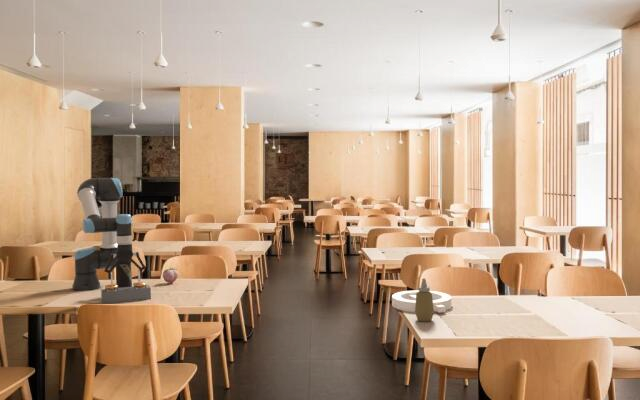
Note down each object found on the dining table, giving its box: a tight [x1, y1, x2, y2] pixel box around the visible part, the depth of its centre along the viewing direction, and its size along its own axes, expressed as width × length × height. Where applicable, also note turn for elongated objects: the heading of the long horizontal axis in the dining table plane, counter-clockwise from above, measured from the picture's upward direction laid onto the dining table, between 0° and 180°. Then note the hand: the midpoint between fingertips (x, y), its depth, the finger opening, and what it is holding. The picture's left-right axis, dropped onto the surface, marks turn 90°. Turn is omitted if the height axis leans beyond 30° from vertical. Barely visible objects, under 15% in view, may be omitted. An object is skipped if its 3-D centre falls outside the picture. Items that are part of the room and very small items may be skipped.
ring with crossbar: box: [391, 289, 452, 313], centre depth 259 cm, size 28×28×5 cm
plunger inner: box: [104, 284, 118, 291], centre depth 281 cm, size 6×6×7 cm
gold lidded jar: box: [132, 281, 147, 289], centre depth 286 cm, size 6×6×7 cm
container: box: [115, 259, 133, 288], centre depth 296 cm, size 9×9×20 cm
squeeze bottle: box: [414, 278, 435, 323], centre depth 232 cm, size 8×8×18 cm
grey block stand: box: [100, 284, 152, 304], centre depth 284 cm, size 24×8×6 cm, turn 114°
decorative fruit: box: [162, 267, 179, 284], centre depth 328 cm, size 9×8×10 cm
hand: (125, 284), depth 283 cm, fingers open, 13 cm apart
